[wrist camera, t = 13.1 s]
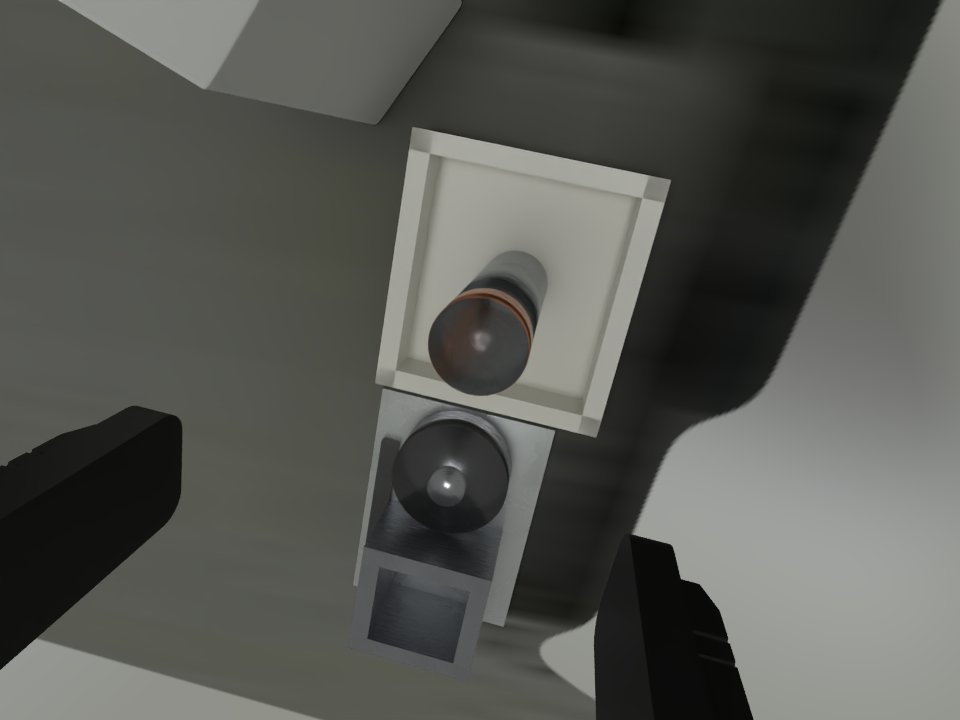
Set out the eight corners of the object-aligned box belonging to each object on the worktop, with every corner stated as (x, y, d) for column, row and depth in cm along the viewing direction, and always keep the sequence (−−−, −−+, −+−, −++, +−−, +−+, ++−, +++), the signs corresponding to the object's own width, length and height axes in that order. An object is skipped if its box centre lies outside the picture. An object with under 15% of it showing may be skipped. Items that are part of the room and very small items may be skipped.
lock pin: (489, 243, 31) (437, 286, 19) (554, 258, 30) (539, 310, 19) (477, 307, 32) (420, 382, 21) (539, 321, 32) (517, 406, 20)
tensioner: (389, 381, 35) (352, 422, 29) (556, 422, 34) (551, 472, 28) (359, 573, 39) (323, 640, 34) (505, 613, 39) (493, 689, 33)
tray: (428, 130, 30) (412, 126, 27) (662, 179, 29) (671, 180, 26) (391, 365, 35) (375, 383, 32) (594, 415, 33) (596, 437, 31)
